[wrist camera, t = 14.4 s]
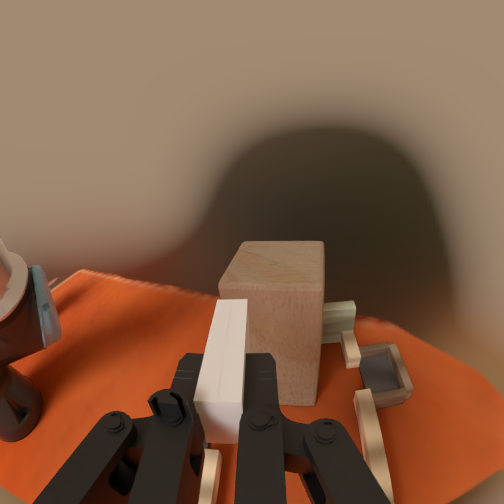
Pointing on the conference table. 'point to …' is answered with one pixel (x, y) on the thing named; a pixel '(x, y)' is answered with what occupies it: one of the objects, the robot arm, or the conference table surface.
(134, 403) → the conference table surface
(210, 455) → the tray
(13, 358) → the robot arm
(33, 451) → the conference table surface
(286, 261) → the wooden block
